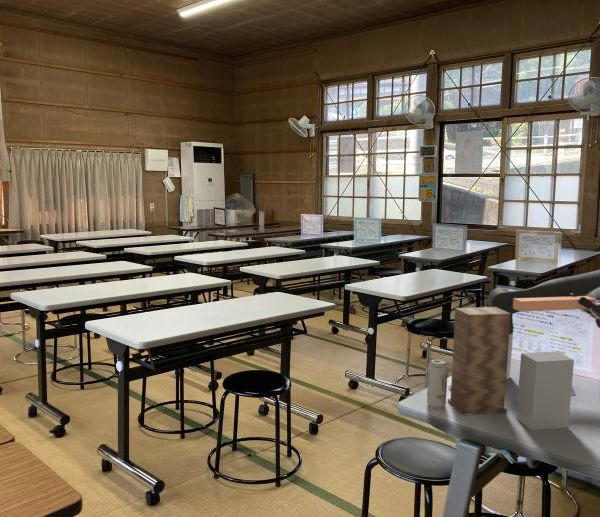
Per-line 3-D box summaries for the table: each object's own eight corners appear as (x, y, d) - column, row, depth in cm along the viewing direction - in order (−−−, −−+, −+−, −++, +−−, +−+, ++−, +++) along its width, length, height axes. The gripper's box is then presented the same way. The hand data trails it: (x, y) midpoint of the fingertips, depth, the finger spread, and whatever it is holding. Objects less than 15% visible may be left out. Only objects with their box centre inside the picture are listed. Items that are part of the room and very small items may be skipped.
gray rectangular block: (531, 430, 163) (536, 361, 160) (516, 418, 171) (521, 353, 168) (568, 427, 165) (574, 359, 162) (551, 416, 173) (557, 351, 170)
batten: (520, 311, 159) (521, 301, 159) (512, 308, 163) (513, 298, 163) (595, 308, 163) (595, 298, 163) (585, 305, 167) (586, 296, 167)
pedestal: (461, 415, 173) (467, 315, 168) (447, 402, 183) (452, 307, 178) (506, 412, 176) (513, 313, 171) (490, 399, 186) (496, 306, 181)
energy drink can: (439, 411, 176) (442, 365, 174) (423, 406, 180) (425, 361, 178) (449, 405, 180) (451, 361, 178) (432, 400, 184) (434, 357, 182)
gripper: (628, 341, 161) (584, 314, 157) (594, 328, 175) (553, 303, 171) (641, 319, 160) (598, 291, 157) (606, 307, 174) (566, 282, 171)
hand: (575, 297), depth 164 cm, fingers closed on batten, 4 cm apart
